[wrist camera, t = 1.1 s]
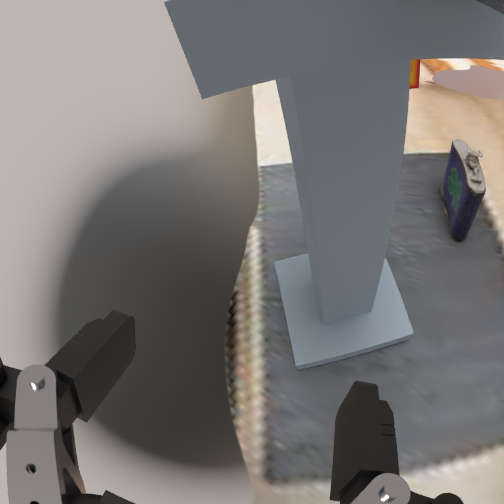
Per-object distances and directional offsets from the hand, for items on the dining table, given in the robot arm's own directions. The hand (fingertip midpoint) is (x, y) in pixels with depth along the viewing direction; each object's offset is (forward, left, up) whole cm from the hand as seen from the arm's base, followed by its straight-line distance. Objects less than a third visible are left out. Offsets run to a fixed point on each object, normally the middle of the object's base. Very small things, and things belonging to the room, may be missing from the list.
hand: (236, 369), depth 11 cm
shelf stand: (-12, -3, -22) cm, 25 cm away
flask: (-31, +5, -22) cm, 38 cm away
